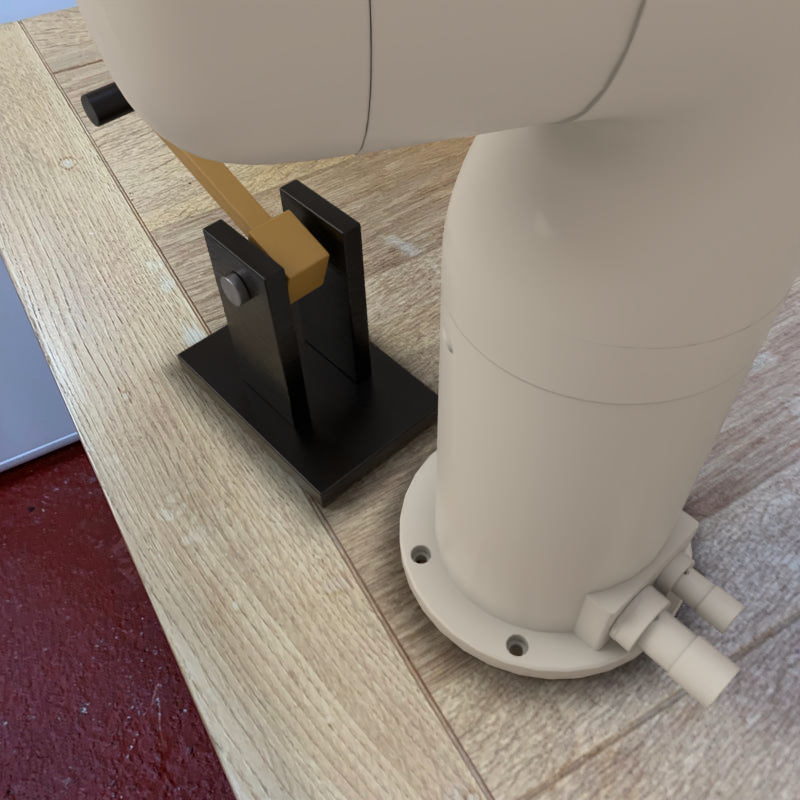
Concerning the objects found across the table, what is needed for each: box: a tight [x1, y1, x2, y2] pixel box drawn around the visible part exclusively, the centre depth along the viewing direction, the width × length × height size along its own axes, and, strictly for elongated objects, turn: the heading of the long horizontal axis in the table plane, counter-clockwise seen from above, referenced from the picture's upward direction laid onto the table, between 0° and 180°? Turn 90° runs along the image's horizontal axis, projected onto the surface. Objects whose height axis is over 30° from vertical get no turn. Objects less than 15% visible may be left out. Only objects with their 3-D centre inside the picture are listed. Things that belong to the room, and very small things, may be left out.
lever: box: [80, 81, 329, 304], centre depth 35 cm, size 13×5×2 cm, turn 43°
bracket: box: [176, 178, 438, 509], centre depth 37 cm, size 12×8×11 cm, turn 43°
